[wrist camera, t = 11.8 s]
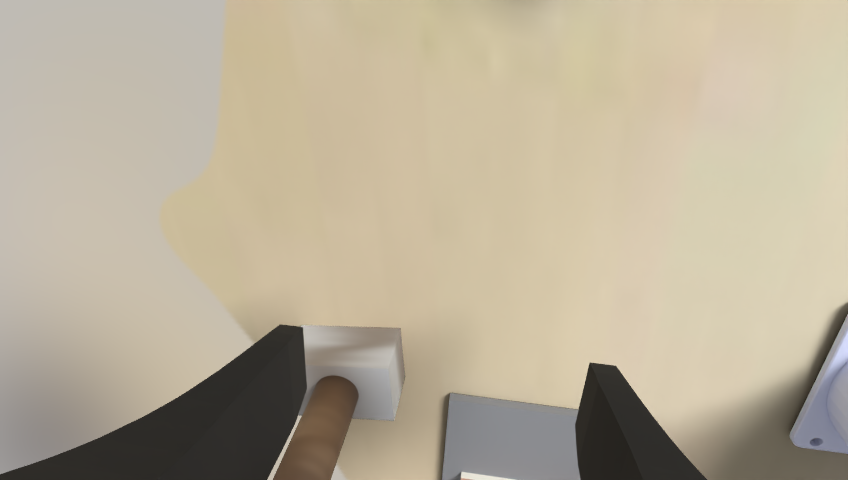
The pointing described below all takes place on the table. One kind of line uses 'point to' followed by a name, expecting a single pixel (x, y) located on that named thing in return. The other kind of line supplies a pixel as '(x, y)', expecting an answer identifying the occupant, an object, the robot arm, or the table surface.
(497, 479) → the tile
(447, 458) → the mat
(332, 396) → the trowel
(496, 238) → the table surface
